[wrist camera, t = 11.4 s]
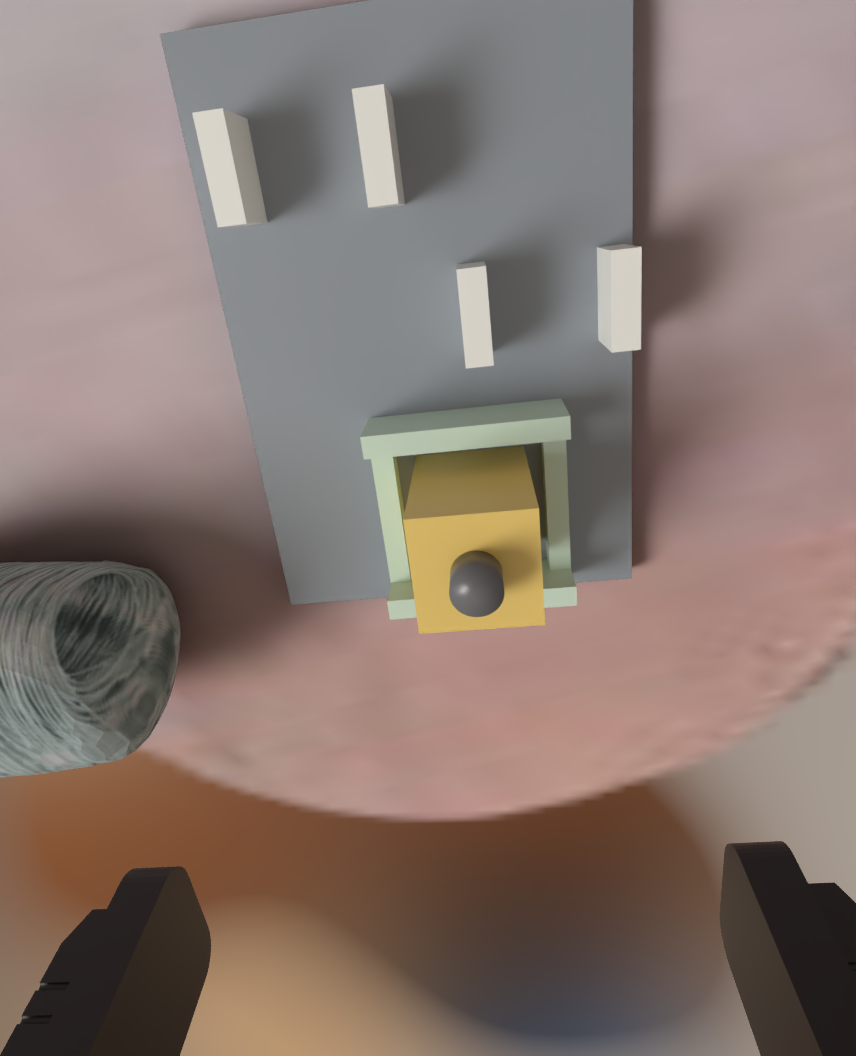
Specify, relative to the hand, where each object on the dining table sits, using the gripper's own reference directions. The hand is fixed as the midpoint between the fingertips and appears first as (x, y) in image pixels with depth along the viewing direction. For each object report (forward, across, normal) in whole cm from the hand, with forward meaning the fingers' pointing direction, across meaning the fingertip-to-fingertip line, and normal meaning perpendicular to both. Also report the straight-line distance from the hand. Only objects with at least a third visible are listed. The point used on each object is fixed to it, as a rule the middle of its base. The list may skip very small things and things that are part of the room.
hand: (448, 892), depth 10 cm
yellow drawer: (+18, 0, +1) cm, 18 cm away
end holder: (+18, 0, +1) cm, 18 cm away
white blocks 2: (+18, -4, -6) cm, 19 cm away
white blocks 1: (+18, +4, -11) cm, 21 cm away
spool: (+19, +19, +5) cm, 27 cm away
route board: (+18, 0, -5) cm, 19 cm away
